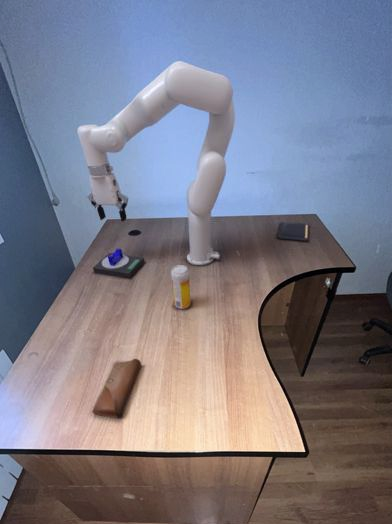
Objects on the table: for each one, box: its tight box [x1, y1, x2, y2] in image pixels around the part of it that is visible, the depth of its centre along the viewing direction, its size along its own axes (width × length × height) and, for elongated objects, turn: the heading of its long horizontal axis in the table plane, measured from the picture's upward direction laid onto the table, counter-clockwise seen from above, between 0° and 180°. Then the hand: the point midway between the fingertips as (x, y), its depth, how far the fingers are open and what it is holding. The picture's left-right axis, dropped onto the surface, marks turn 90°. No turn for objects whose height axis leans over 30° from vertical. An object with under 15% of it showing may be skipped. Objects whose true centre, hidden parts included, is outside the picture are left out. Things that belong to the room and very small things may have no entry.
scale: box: [92, 252, 146, 279], centre depth 119 cm, size 18×14×3 cm
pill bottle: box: [170, 264, 191, 310], centre depth 94 cm, size 6×6×15 cm
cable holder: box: [108, 247, 124, 266], centre depth 117 cm, size 8×4×4 cm, turn 161°
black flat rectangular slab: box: [277, 221, 310, 243], centre depth 138 cm, size 20×2×15 cm
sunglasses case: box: [91, 358, 142, 419], centre depth 73 cm, size 18×7×7 cm
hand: (113, 219), depth 107 cm, fingers open, 9 cm apart
